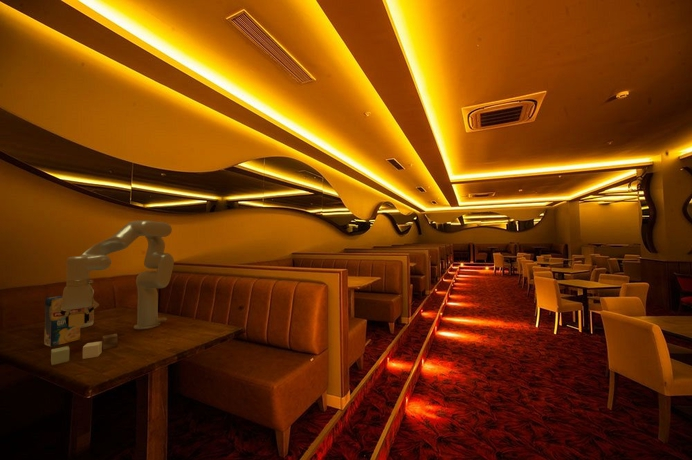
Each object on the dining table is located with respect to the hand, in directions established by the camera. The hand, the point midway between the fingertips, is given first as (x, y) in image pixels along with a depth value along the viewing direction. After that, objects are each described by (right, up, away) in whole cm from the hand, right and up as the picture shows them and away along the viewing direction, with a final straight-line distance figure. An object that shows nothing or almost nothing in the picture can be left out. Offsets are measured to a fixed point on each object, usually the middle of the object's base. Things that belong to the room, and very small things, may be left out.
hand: (77, 323), depth 128 cm
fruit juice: (-31, -14, +35) cm, 49 cm away
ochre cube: (0, -1, 0) cm, 1 cm away
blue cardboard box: (-17, -13, +10) cm, 24 cm away
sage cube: (+4, -12, -11) cm, 17 cm away
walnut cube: (+11, -13, +4) cm, 17 cm away
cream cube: (+12, -12, -6) cm, 18 cm away
